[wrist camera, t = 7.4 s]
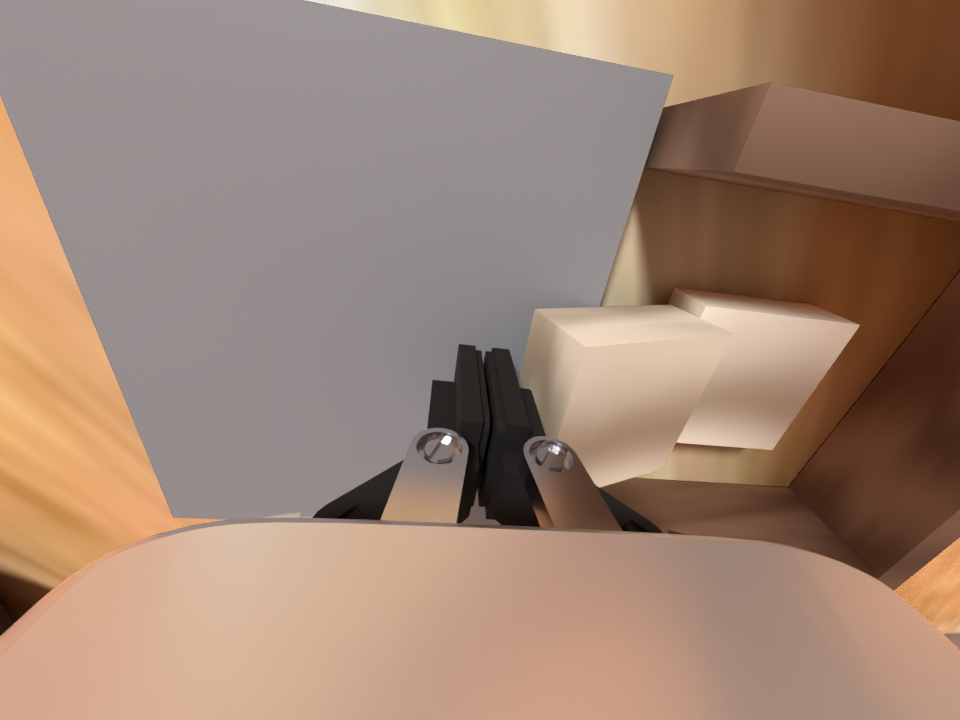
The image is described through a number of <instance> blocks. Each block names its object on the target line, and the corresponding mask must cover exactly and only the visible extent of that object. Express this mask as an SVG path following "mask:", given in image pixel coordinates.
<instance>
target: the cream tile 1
mask: <svg viewBox="0 0 960 720" xmlns="http://www.w3.org/2000/svg"><path fill="white" fill-rule="evenodd" d="M733 335H734V334H733V333H731V332H729V331H726V330H724V329H722V328H720V327H718V326H716V325H713V324H711V323H709V322H707V321H705V320H703V319H701V318H698V317H696V316H694V315H692V314H690V313H688V312H686V311H683V310H681V309H679V308H677V307H675V306H673V305H643V306H611V307H579V308H547V309H535V310H534V315H533V319H532V324H531V328H530V333H529V337H528V342H527V346H526V350H525V355H524V359H523V364H522V368H521V373H520V377H519V381H518V383H519V386H520V388H526V389H530V390H531V391H532V394H533V397H534V400H535V403H536V407H537V410H538V413H539V416H540V419H541V422H542V425H543V428H544V432H545V435H546V436H548V437H552V438H556V439H559V440H561V441H563V442H565V443H566V444H567V445H569V446H570V447H571V448H572V449H573V450H574V451H575V453H576V454H577V455H578V457H579V459H580V460H581V462H582V464H583V465H584V467H585V469H586V471H587V472H588V474H589V476H590V477H591V479H592V481H593V482H594V484H595V485H596V486H598V487H599V488H600V487H603V486H607V485H610V484H614V483H617V482H620V481H624V480H627V479H630V478H634V477H637V476H640V475H644V474H647V473H650V472H654V471H657V470H660V469H662V468H663V466H664V465H665V463H666V461H667V459H668V457H669V455H670V453H671V451H672V450H673V448H674V446H675V444H676V442H677V440H678V438H679V436H680V434H681V433H682V431H683V429H684V427H685V425H686V423H687V421H688V419H689V418H690V416H691V414H692V412H693V410H694V408H695V406H696V404H697V402H698V401H699V399H700V397H701V395H702V393H703V391H704V389H705V387H706V385H707V384H708V382H709V380H710V378H711V376H712V374H713V372H714V370H715V369H716V367H717V365H718V363H719V361H720V359H721V357H722V355H723V353H724V352H725V350H726V348H727V346H728V344H729V342H730V340H731V338H732V336H733Z"/></svg>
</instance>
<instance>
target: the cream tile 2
mask: <svg viewBox="0 0 960 720" xmlns="http://www.w3.org/2000/svg"><path fill="white" fill-rule="evenodd" d="M668 305H673V306H675V307H677V308H679V309H681V310H683V311H686V312H688V313H690V314H692V315H694V316H696V317H698V318H701V319H703V320H705V321H707V322H709V323H711V324H713V325H716V326H718V327H720V328H722V329H724V330H726V331H729V332H731V333H733V334H734V335H733V336H732V338H731V340H730V342H729V344H728V346H727V348H726V350H725V352H724V353H723V355H722V357H721V359H720V361H719V363H718V365H717V367H716V369H715V370H714V372H713V374H712V376H711V378H710V380H709V382H708V384H707V385H706V387H705V389H704V391H703V393H702V395H701V397H700V399H699V401H698V402H697V404H696V406H695V408H694V410H693V412H692V414H691V416H690V418H689V419H688V421H687V423H686V425H685V427H684V429H683V431H682V433H681V434H680V436H679V438H678V440H677V442H676V443H687V444H700V445H713V446H727V447H740V448H753V449H766V450H773V448H774V447H775V445H776V444H777V443H778V441H779V440H780V438H781V437H782V436H783V434H784V433H785V431H786V430H787V428H788V427H789V426H790V424H791V423H792V421H793V420H794V418H795V417H796V416H797V414H798V413H799V411H800V410H801V409H802V407H803V406H804V404H805V403H806V401H807V400H808V399H809V397H810V396H811V394H812V393H813V392H814V390H815V389H816V387H817V386H818V384H819V383H820V382H821V380H822V379H823V377H824V376H825V375H826V373H827V372H828V370H829V369H830V367H831V366H832V365H833V363H834V362H835V360H836V359H837V358H838V356H839V355H840V353H841V352H842V350H843V349H844V348H845V346H846V345H847V343H848V342H849V340H850V339H851V338H852V336H853V335H854V333H855V332H856V331H857V329H858V328H859V326H860V324H857V323H855V322H853V321H850V320H848V319H845V318H843V317H841V316H838V315H836V314H833V313H831V312H829V311H826V310H824V309H821V308H819V307H817V306H814V305H812V304H806V303H798V302H790V301H782V300H774V299H766V298H758V297H750V296H742V295H734V294H726V293H718V292H709V291H701V290H693V289H685V288H677V287H675V288H674V290H673V293H672V295H671V298H670V300H669V302H668Z"/></svg>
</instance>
